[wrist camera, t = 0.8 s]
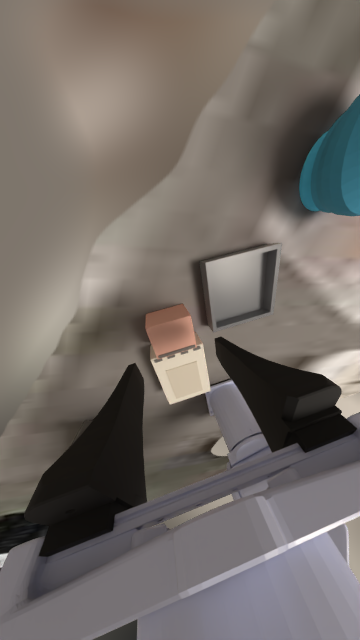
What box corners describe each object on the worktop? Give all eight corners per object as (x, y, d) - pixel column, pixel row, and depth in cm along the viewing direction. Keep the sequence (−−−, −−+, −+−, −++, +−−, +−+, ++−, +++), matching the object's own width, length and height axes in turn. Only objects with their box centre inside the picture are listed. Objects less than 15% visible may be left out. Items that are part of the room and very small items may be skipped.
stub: (188, 331, 20) (197, 347, 17) (156, 340, 20) (157, 360, 16) (182, 303, 18) (190, 315, 15) (145, 313, 18) (145, 329, 14)
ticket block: (204, 376, 25) (211, 391, 22) (167, 388, 25) (169, 405, 22) (195, 331, 21) (202, 344, 18) (150, 345, 20) (150, 360, 17)
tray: (262, 309, 21) (273, 314, 19) (208, 325, 20) (213, 332, 19) (268, 243, 17) (282, 242, 15) (199, 261, 16) (205, 262, 14)
